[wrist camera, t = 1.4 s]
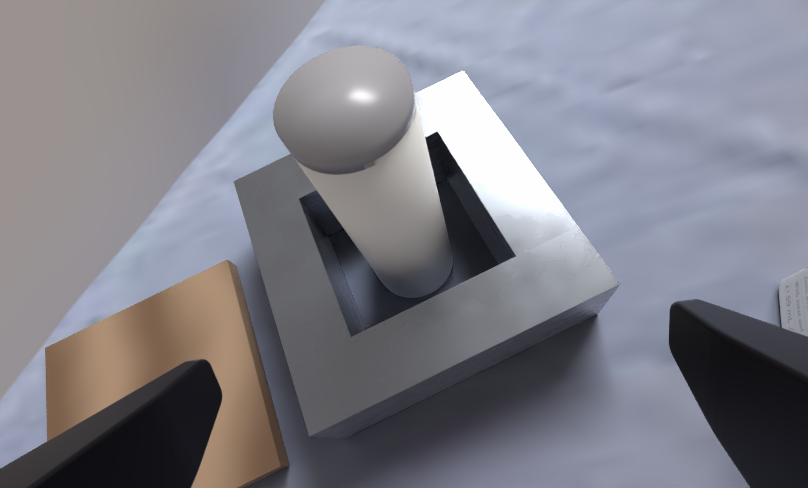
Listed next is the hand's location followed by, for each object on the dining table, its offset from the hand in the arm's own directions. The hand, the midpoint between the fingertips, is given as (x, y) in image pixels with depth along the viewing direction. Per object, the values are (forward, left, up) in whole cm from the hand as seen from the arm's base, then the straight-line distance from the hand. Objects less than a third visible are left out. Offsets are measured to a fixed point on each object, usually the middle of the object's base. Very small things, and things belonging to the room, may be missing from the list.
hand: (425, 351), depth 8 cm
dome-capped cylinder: (+1, +8, -14) cm, 16 cm away
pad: (-15, +7, -14) cm, 22 cm away
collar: (+1, +8, -14) cm, 16 cm away
